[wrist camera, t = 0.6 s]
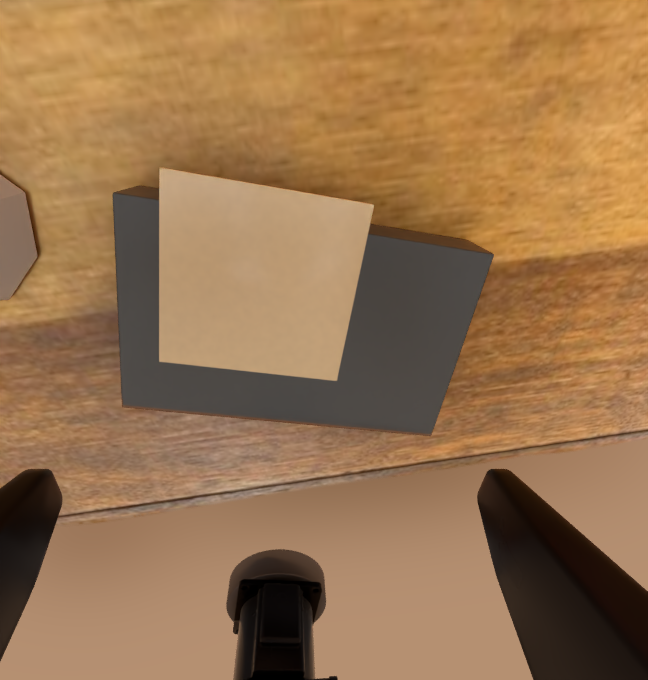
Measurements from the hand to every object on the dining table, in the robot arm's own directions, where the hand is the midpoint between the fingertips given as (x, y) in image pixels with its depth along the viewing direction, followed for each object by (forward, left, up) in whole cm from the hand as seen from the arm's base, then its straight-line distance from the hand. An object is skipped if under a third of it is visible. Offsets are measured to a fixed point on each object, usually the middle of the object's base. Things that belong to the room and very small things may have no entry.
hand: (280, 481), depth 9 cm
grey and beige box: (-1, -1, -14) cm, 14 cm away
